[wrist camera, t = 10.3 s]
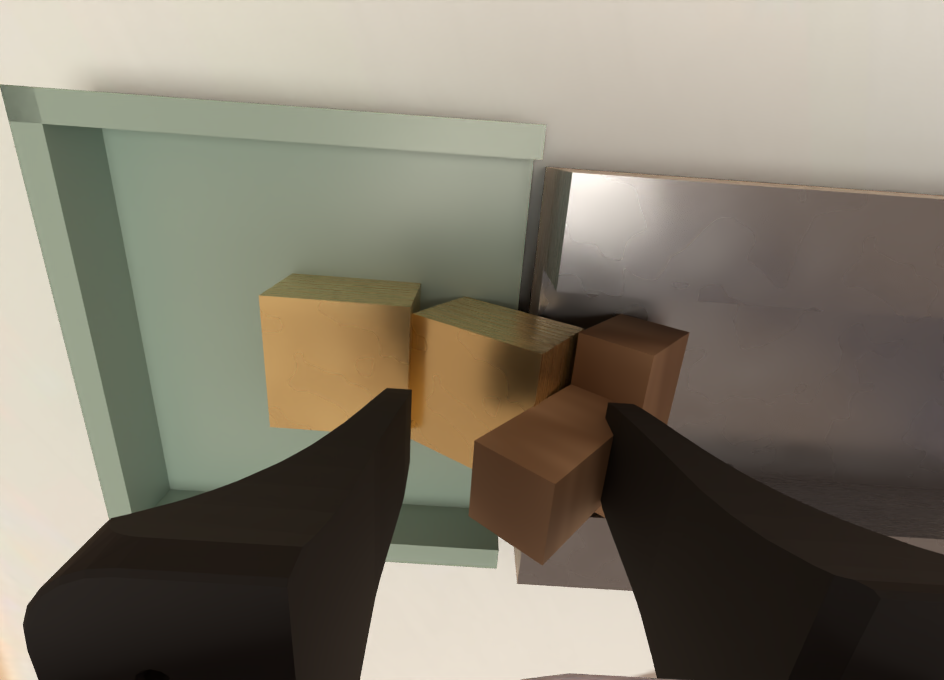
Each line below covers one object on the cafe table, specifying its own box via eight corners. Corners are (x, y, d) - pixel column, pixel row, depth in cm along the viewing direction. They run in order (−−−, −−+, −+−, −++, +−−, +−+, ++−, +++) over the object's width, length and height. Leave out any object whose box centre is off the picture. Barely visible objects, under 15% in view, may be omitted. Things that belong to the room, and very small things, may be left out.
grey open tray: (1060, 203, 15) (1285, 223, 11) (908, 514, 19) (1027, 614, 15) (545, 167, 15) (572, 172, 11) (508, 489, 19) (517, 583, 15)
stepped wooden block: (689, 332, 13) (566, 414, 9) (652, 483, 15) (534, 618, 10) (620, 313, 14) (479, 376, 10) (594, 455, 16) (464, 566, 12)
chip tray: (533, 130, 14) (546, 124, 12) (493, 508, 20) (496, 568, 17) (93, 97, 14) (-1, 84, 12) (168, 488, 19) (115, 545, 17)
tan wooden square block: (421, 282, 15) (410, 306, 13) (416, 396, 17) (406, 436, 14) (292, 273, 15) (258, 295, 13) (299, 388, 17) (269, 427, 14)
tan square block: (583, 328, 13) (541, 354, 11) (562, 452, 15) (522, 493, 13) (465, 296, 15) (412, 313, 13) (456, 407, 17) (408, 438, 15)
